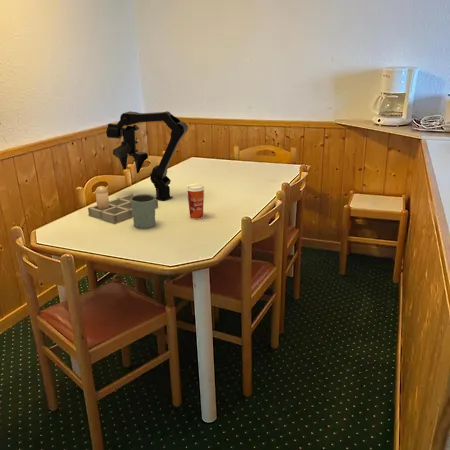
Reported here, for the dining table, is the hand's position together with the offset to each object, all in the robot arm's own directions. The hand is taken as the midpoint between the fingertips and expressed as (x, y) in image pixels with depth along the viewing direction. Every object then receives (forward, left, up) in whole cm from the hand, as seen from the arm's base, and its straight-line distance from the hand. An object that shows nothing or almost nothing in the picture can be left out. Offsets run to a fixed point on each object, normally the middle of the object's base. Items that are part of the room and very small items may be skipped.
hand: (131, 171), depth 213 cm
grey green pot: (-33, +23, -13) cm, 42 cm away
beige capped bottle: (-9, +25, -12) cm, 29 cm away
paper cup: (-44, +3, -13) cm, 46 cm away
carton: (-13, +17, -13) cm, 25 cm away
